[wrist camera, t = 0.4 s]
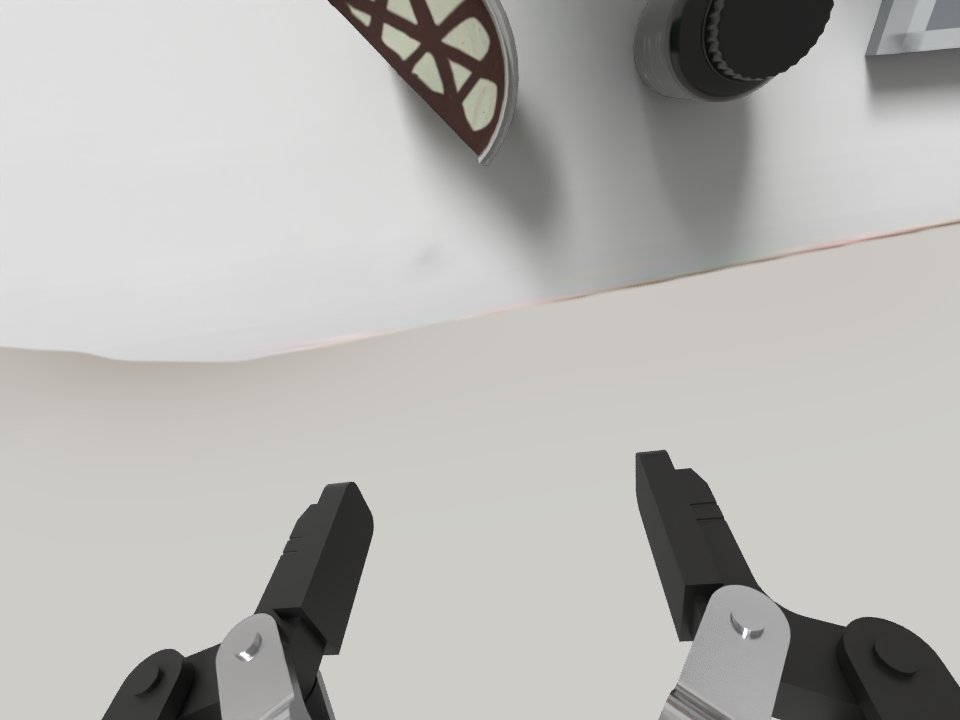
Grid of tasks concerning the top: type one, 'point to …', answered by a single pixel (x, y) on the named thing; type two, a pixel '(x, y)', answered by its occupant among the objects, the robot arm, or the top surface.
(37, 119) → the top surface
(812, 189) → the top surface
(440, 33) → the food container
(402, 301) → the top surface
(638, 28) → the supplement bottle
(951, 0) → the rack
